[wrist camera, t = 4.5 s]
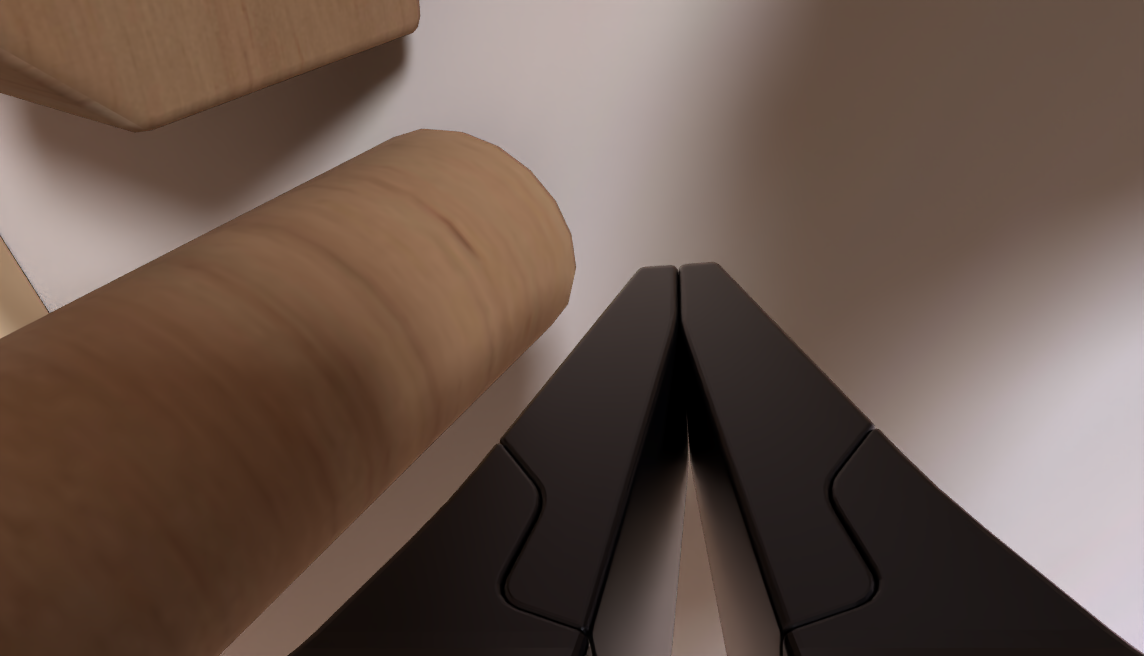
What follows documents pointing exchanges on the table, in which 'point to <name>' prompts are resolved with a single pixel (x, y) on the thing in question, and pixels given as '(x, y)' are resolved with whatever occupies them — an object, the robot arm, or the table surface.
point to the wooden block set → (245, 336)
